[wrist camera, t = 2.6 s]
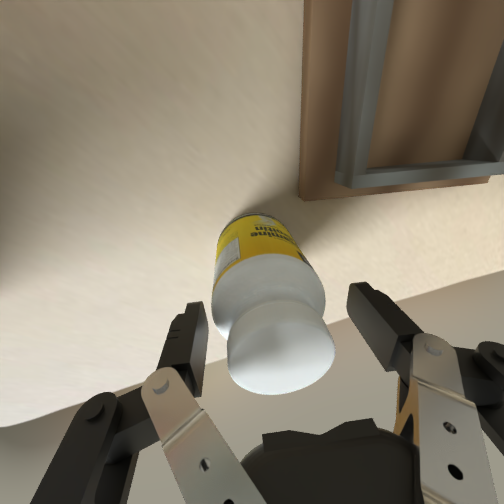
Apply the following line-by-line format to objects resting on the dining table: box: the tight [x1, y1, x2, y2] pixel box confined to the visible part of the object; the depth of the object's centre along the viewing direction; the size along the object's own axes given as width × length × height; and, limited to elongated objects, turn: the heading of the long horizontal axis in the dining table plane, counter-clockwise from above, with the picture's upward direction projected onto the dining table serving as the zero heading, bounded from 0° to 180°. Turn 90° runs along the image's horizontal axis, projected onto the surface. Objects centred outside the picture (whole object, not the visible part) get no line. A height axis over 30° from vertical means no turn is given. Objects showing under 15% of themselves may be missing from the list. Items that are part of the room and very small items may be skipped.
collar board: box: [299, 0, 504, 201], centre depth 13 cm, size 15×14×4 cm
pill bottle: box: [211, 213, 335, 395], centre depth 14 cm, size 6×6×12 cm
